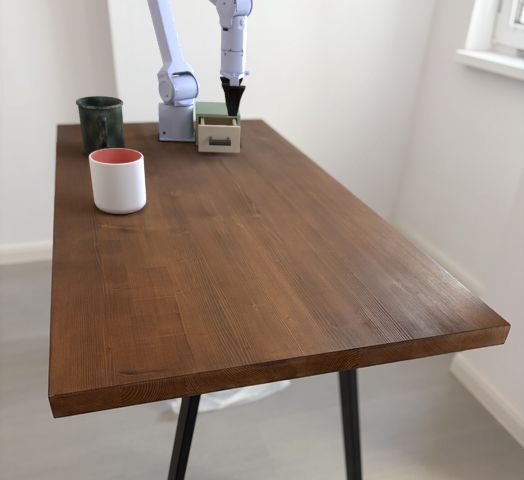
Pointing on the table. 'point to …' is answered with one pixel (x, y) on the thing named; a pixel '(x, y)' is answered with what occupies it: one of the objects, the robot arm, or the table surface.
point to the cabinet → (212, 113)
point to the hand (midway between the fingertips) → (231, 112)
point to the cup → (118, 180)
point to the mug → (101, 123)
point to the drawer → (219, 135)
